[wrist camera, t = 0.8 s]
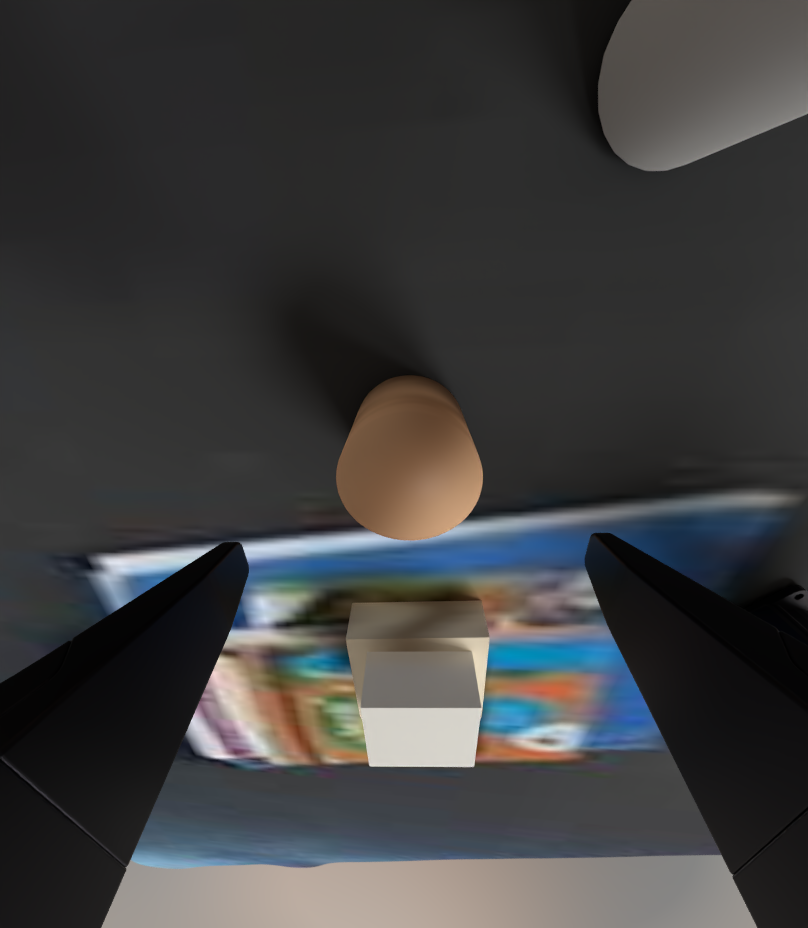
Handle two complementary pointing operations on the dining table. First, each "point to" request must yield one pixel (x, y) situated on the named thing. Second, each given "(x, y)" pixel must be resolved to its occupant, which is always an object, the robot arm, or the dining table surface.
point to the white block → (421, 709)
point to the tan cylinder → (409, 461)
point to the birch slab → (417, 633)
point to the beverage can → (701, 77)
